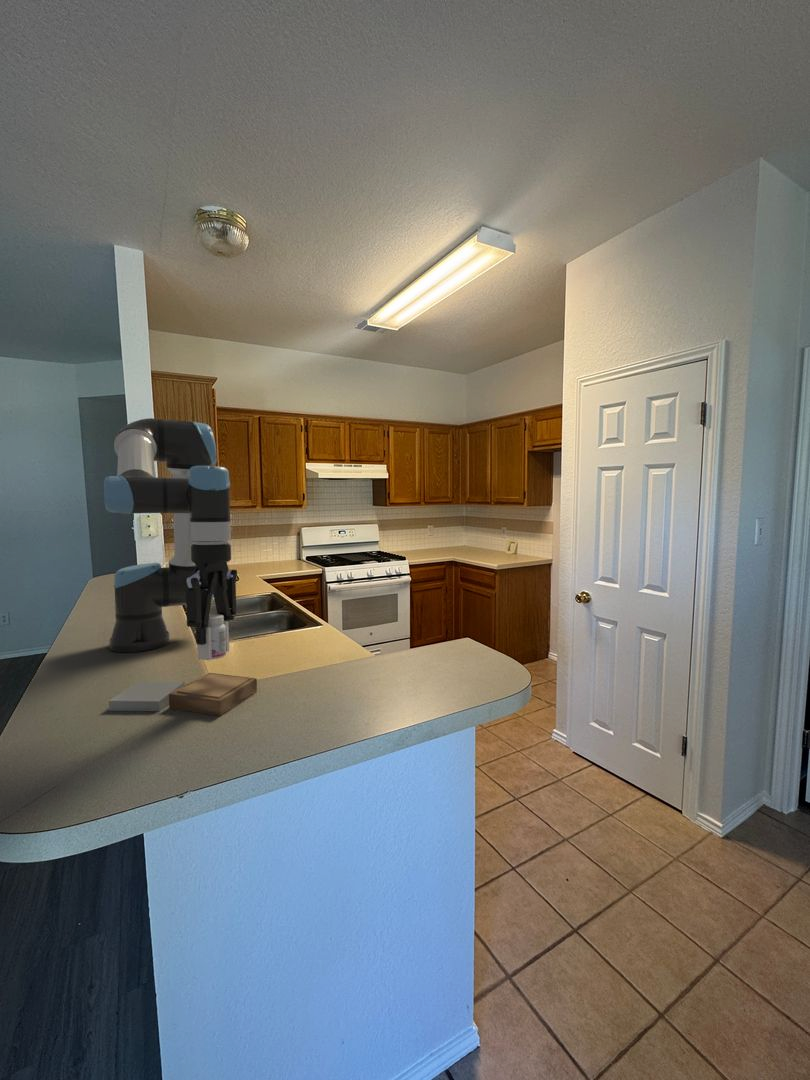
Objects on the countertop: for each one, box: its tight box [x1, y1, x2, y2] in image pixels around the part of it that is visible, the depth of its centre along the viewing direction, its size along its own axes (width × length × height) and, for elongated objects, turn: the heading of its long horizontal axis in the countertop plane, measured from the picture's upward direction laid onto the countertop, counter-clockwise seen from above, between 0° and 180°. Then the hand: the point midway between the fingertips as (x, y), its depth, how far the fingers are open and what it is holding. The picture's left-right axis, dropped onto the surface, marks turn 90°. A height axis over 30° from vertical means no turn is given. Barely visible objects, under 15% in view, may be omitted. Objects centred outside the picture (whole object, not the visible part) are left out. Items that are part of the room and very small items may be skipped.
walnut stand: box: [168, 672, 258, 717], centre depth 95 cm, size 12×12×3 cm
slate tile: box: [108, 680, 186, 712], centre depth 94 cm, size 10×10×2 cm
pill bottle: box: [208, 613, 227, 661], centre depth 94 cm, size 5×5×8 cm
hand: (213, 654), depth 94 cm, fingers closed on pill bottle, 5 cm apart
